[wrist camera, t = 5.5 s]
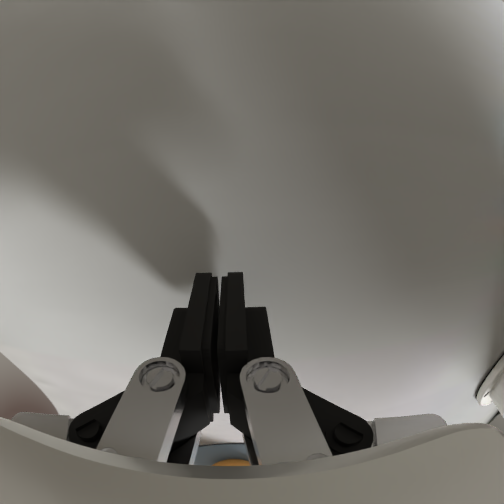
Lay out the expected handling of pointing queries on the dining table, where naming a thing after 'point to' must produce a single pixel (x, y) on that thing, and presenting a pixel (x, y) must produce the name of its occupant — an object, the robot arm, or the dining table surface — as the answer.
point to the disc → (219, 453)
